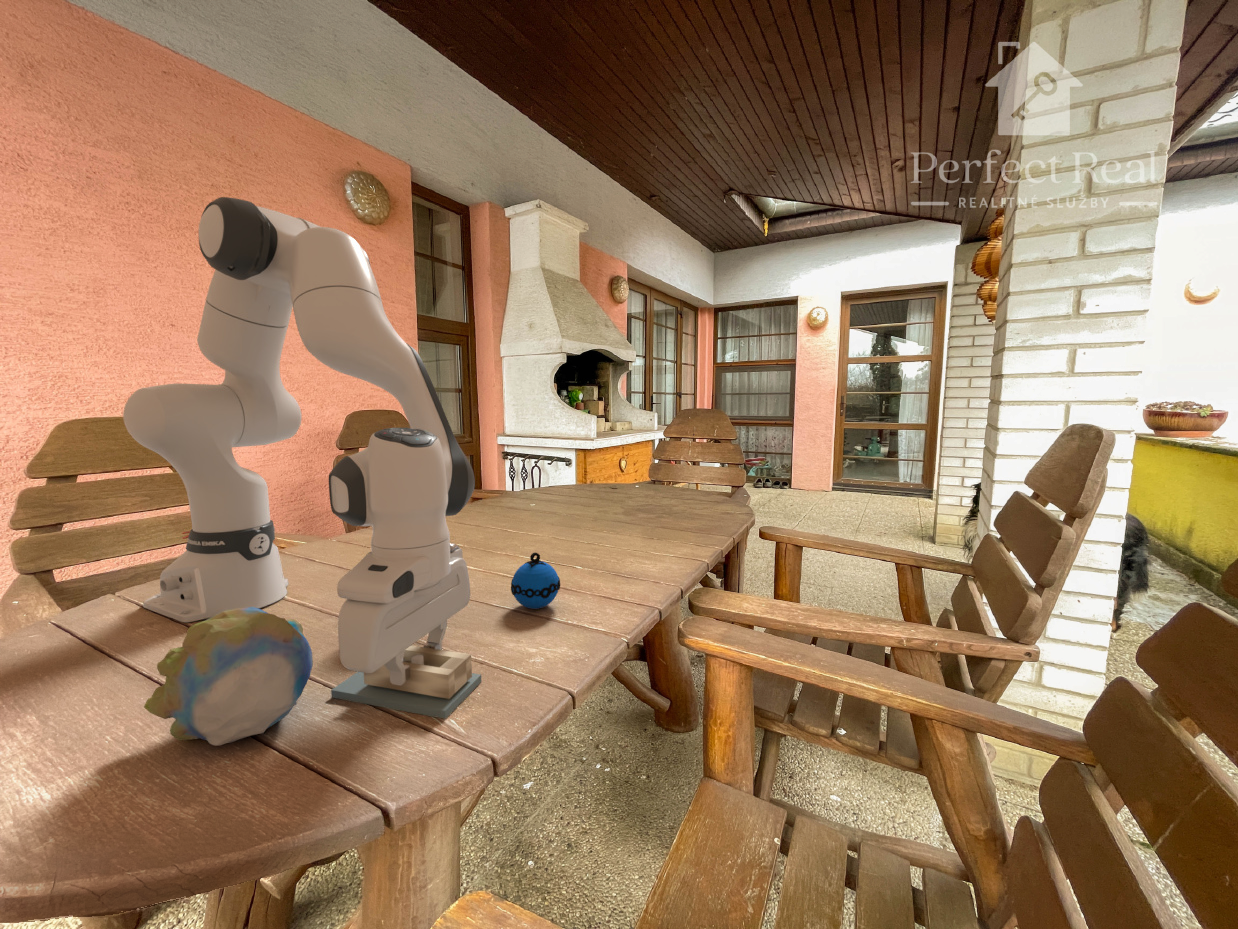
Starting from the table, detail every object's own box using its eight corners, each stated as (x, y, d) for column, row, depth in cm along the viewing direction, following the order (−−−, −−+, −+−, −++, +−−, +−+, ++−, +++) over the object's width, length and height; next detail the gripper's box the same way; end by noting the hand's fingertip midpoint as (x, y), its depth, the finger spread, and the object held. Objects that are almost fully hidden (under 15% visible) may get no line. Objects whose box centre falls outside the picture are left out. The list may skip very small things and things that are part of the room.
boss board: (331, 697, 62) (329, 663, 61) (378, 664, 69) (376, 634, 69) (445, 718, 58) (444, 682, 57) (481, 681, 65) (480, 649, 65)
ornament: (522, 621, 83) (521, 563, 82) (504, 604, 90) (503, 550, 89) (568, 610, 88) (568, 555, 87) (548, 594, 95) (547, 543, 94)
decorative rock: (247, 615, 49) (309, 570, 64) (67, 678, 46) (175, 616, 61) (302, 737, 51) (350, 666, 65) (133, 804, 48) (222, 715, 63)
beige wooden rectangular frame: (364, 684, 62) (362, 661, 62) (391, 663, 67) (390, 642, 66) (449, 699, 59) (448, 675, 59) (471, 676, 64) (471, 654, 63)
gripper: (440, 537, 72) (444, 629, 73) (323, 588, 52) (332, 711, 54) (480, 541, 70) (482, 634, 72) (374, 595, 51) (381, 721, 52)
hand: (417, 668), depth 63 cm, fingers closed on beige wooden rectangular frame, 5 cm apart
